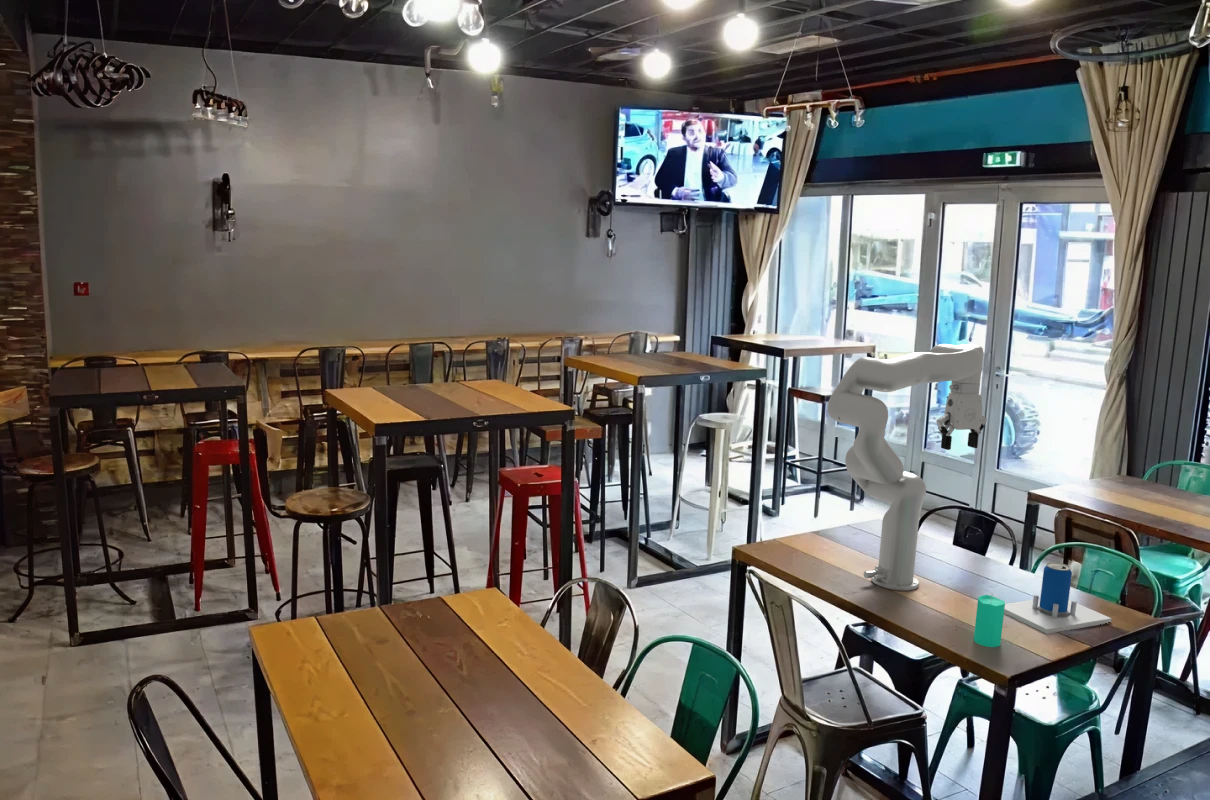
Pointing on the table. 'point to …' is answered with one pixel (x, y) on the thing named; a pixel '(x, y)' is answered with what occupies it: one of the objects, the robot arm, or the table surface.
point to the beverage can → (1055, 587)
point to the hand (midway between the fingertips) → (959, 448)
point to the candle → (989, 621)
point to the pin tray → (1054, 616)
